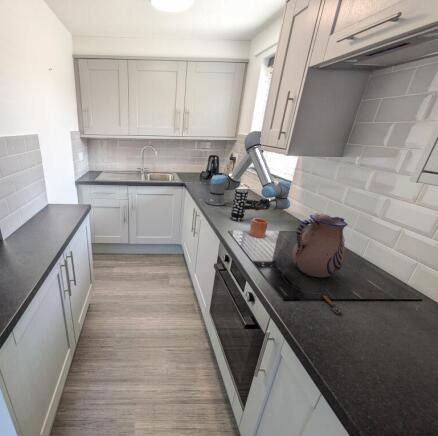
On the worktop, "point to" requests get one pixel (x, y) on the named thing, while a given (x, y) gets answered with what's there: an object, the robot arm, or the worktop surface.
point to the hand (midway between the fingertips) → (237, 204)
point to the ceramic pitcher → (320, 245)
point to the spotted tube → (239, 205)
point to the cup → (258, 227)
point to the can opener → (332, 305)
